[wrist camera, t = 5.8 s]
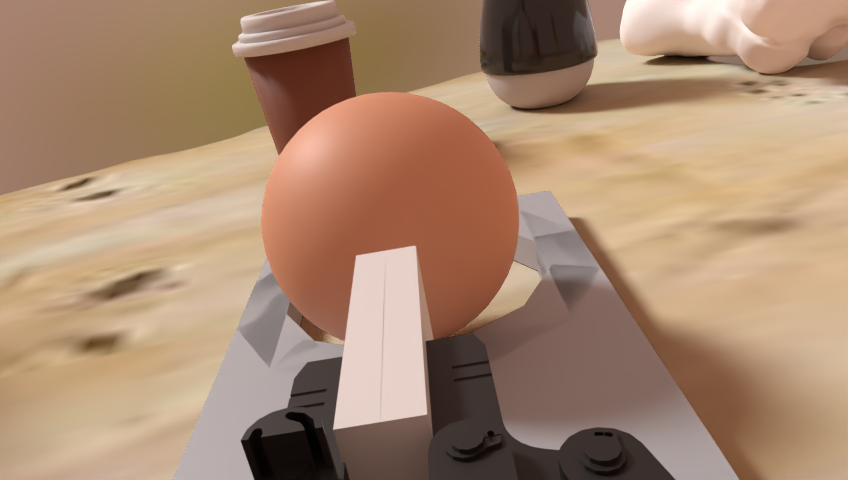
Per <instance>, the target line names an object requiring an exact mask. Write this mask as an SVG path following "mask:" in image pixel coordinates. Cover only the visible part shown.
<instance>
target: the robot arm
mask: <svg viewBox="0 0 848 480" xmlns="http://www.w3.org/2000/svg"><path fill="white" fill-rule="evenodd" d="M290 396H291V398H289V402H288V406H287V408H285V409H281V410H277V411H274V412H271V413H269V414H268V415H266V416H264V417H262V418H260V419H258V420H257V421H256V422H255V423H254V424H253V425H251V426H250V427H249V428H248V429H247V430H246V432H245V434H244V435H243V437H242V439H241V440H240V441H241V444H242V446H243V449H244V452H245V455H246V458H247V461H248V464H249V466H250V469H251V472H252V475H253V478H254V480H675V478H674V477H673V476H672V475H671V474H670V473H669V472H668V471H667V470H666V469H665V467H664V466H663V465H662V464H661V463H660V462H659V461H658V460H657V459H656V458H655V456H654V455H653V454H652V453H651V452H650V451H649V450H648V449H647V448H646V447H645V446H644V444H643V443H642V442H640V441H639V440H638V439H636V438H635V437H634V436H632V435H631V434H629V433H626V432H624V431H621V430H618V429H615V428H603V427H595V428H590V429H585V430H581V431H579V432H577V433H575V434H573V435H571V436H569V437H568V438H567V440H566V441H565V442H564V443H563V444H562V446H561V447H560V450H553V449H543V448H537V447H532V446H529V445H527V444H524V443H521V442H520V441H518V440H517V439H515V438H514V437H512V436H511V435H510V433H509V432H508V431H507V430H506V428H505V426H504V423H503V420H502V415H501V411H500V407H499V402H498V398H497V393H496V389H495V385H494V380H493V376H492V372H491V367H490V363H489V358H488V354H487V350H486V345H485V344H484V343H483V342H482V341H480V340H479V339H478V338H477V337H476V336H475V335H474V334H473V333H471V334H465V335H459V336H453V337H447V338H441V339H435V340H434V339H433V334H432V329H431V323H430V318H429V313H428V307H427V302H426V297H425V292H424V286H423V281H422V276H421V270H420V265H419V260H418V255H417V249H416V246H410V247H404V248H398V249H392V250H386V251H380V252H374V253H368V254H362V255H357V256H356V260H355V268H354V275H353V283H352V291H351V298H350V306H349V313H348V321H347V328H346V336H345V343H344V351H343V356H342V357H336V358H330V359H324V360H318V361H312V362H307V363H306V365H305V366H304V367H303V368H302V369H301V371H300V372H299V373H298V374H297V376H296V377H295V378H294V381H293V386H292V390H291V394H290Z"/></svg>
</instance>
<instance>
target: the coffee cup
mask: <svg viewBox="0 0 848 480" xmlns="http://www.w3.org/2000/svg"><path fill="white" fill-rule="evenodd" d="M240 22H241V26H242V30H243V33H242V34H240V35H239V41H238V42H237V43H235V44H234V45H233V46H232V49H233V52H234V56H236V57H244V58H245V61H246V64H247V67H248V70H249V73H250V76H251V78H252V81H253V84H254V87H255V89H256V92H257V95H258V98H259V101H260V104H261V106H262V109H263V112H264V115H265V118H266V121H267V123H268V126H269V129H270V132H271V135H272V138H273V140H274V143H275V146H276V149H277V152H278V154H279V155H280V154H281V152H282V151H283V149H284V148H285V146H286V145H287V144H288V142H289V141H290V140H291V139H292V138H293V136H294V135H295V134H296V133H297V132H298V131H299V130H300V129H301V128H302V127H303V126H304V125H305V124H306V123H307V122H308V121H310V120H311V119H312V118H314V117H315V116H317V115H318V114H319V113H321V112H322V111H324V110H326V109H328V108H329V107H331V106H333V105H335V104H337V103H340V102H342V101H345V100H347V99H350V98H354V97H356V92H355V84H354V77H353V69H352V61H351V53H350V45H349V36H352V35H354V34H356V29H355V24H354V22H353V21H348V20H347V21H346V20H345V16H344V15H342V14H338V10H337V5H336V2H335V1H333V0H329V1H321V2H314V3H308V4H301V5H297V6H291V7H285V8H280V9H275V10H270V11H266V12H261V13H257V14H253V15H249V16H245V17H243V18H242V19H241V20H240Z"/></svg>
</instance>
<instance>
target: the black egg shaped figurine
mask: <svg viewBox="0 0 848 480" xmlns="http://www.w3.org/2000/svg"><path fill="white" fill-rule="evenodd" d="M597 53H598V50H597V40H596V34H595V29H594V24H593V20H592V15H591V11H590V7H589V3H588V0H483V1H482V9H481V20H480V64H481V70H482V72H483V73H485V74H486V77H487V80H488V83H489V85H490V87H491V88H492V90H493V92H494V93H495V94H496V95H497V96H498V97H499V98H500V99H501V100H502V101H504V102H505V103H507V104H509V105H511V106H514V107H517V108H524V109H535V108H545V107H550V106H555V105H559V104H562V103H565V102H567V101H569V100H570V99H572V98H573V97H575V96H576V95H577V94H579V93H580V92H581V91H582V89H583V88H584V87H585V85H586V84H587V82H588V80H589V78H590V76H591V73H592V69H593V64H594V58H595V57H596V56H597Z"/></svg>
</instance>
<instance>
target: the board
mask: <svg viewBox="0 0 848 480" xmlns="http://www.w3.org/2000/svg"><path fill="white" fill-rule="evenodd" d="M517 200H518V205H519V233H518V244H517V248H516V252H515V256H514V260H515V261H517V262H519V263H521V264H524V265H526V266H528V267H530V268H533V269H535V270H537V271H538V272H539V274H540V276H541V279H542V280H541V281H540V283H539V284H538V286H537V287H536V289H535V290H534V292H533V293H532V295H531V296H530V298H529V299H528V301H527V302H526V304H525V305H524V306H522V307H521V308H519V309H517V310H515V311H513V312H511V313H509V314H507V315H505V316H503V317H501V318H499V319H497V320H495V321H493V322H491V323H489V324H487V325H485V326H483V327H481V328H479V329H477V330H475V331H473V332H471V333H473V334H474V335H475V336H476V337H477V338H478V339H479V340H480V341H482V342H483V343H484V344H485V345H486V350H487V354H488V358H489V363H490V367H491V372H492V376H493V380H494V385H495V389H496V393H497V398H498V402H499V407H500V411H501V415H502V420H503V423H504V426H505V428H506V430H507V431H508V432H509V433H510V435H511V436H512V437H514V438H515V439H517V440H518V441H520V442H521V443H524V444H527V445H529V446H532V447H537V448H543V449H553V450H560V447H561V446H562V444H563V443H564V442H565V441H566V440H567V438H568V437H569V436H571V435H573V434H575V433H577V432H579V431H581V430H585V429H590V428H595V427H603V428H615V429H618V430H621V431H624V432H626V433H629V434H631V435H632V436H634V437H635V438H636V439H638V440H639V441H640V442H642V443H643V444H644V446H645V447H646V448H647V449H648V450H649V451H650V452H651V453H652V454H653V455H654V456H655V458H656V459H657V460H658V461H659V462H660V463H661V464H662V465H663V466H664V467H665V469H666V470H667V471H668V472H669V473H670V474H671V475H672V476H673V477H674V478H675V480H739V478H738V476H737V475H736V473H735V472H734V470H733V469H732V467H731V466H730V464H729V463H728V461H727V460H726V458H725V457H724V455H723V454H722V452H721V451H720V449H719V447H718V446H717V444H716V443H715V441H714V440H713V438H712V437H711V435H710V434H709V432H708V431H707V429H706V428H705V426H704V425H703V423H702V422H701V420H700V418H699V417H698V415H697V414H696V412H695V411H694V409H693V408H692V406H691V405H690V403H689V402H688V400H687V399H686V397H685V396H684V394H683V393H682V391H681V389H680V388H679V386H678V385H677V383H676V382H675V380H674V379H673V377H672V376H671V374H670V373H669V371H668V370H667V368H666V367H665V365H664V364H663V362H662V360H661V359H660V357H659V356H658V354H657V353H656V351H655V350H654V348H653V347H652V345H651V344H650V342H649V341H648V339H647V338H646V336H645V335H644V333H643V331H642V330H641V328H640V327H639V325H638V324H637V322H636V321H635V319H634V318H633V316H632V315H631V313H630V312H629V310H628V309H627V307H626V306H625V304H624V302H623V301H622V299H621V298H620V296H619V295H618V293H617V292H616V290H615V289H614V287H613V286H612V284H611V283H610V281H609V280H608V278H607V277H606V275H605V273H604V272H603V270H602V269H601V267H600V266H599V264H598V263H597V261H596V260H595V258H594V257H593V255H592V254H591V252H590V251H589V249H588V248H587V246H586V244H585V243H584V241H583V240H582V238H581V237H580V235H579V234H578V232H577V231H576V229H575V228H574V226H573V225H572V223H571V222H570V220H569V219H568V217H567V215H566V214H565V212H564V211H563V209H562V208H561V206H560V205H559V203H558V202H557V200H556V199H555V197H554V196H553V194H552V193H551V191H544V192H538V193H532V194H527V195H521V196H517ZM302 316H303V315H302V314H301V313H300V312H299V311H298V310H297V308H296V307H295V306H294V305H293V304H292V303H291V302H290V301H289V299H288V298H287V297H286V295H285V294H284V292H283V291H282V290H281V288H280V286H279V284H278V283H277V281H276V279H275V277H274V275H273V273H272V270H271V267H270V264H269V262H268V259H267V258H266V261H265V263H264V265H263V268H262V270H261V272H260V275H259V277H258V279H257V282H256V284H255V287H254V289H253V291H252V294H251V296H250V298H249V301H248V303H247V305H246V308H245V310H244V312H243V315H242V317H241V320H240V322H239V324H238V327H237V329H236V331H235V334H234V336H233V338H232V341H231V343H230V345H229V348H228V350H227V353H226V355H225V357H224V360H223V362H222V364H221V367H220V369H219V371H218V374H217V376H216V378H215V381H214V383H213V386H212V388H211V390H210V393H209V395H208V397H207V400H206V402H205V404H204V407H203V409H202V412H201V414H200V416H199V419H198V421H197V423H196V426H195V428H194V430H193V433H192V435H191V437H190V440H189V442H188V445H187V447H186V449H185V452H184V454H183V456H182V459H181V461H180V463H179V466H178V468H177V470H176V473H175V475H174V478H173V480H254V478H253V475H252V472H251V469H250V466H249V464H248V461H247V458H246V455H245V452H244V449H243V446H242V444H241V441H240V440H241V439H242V437H243V435H244V434H245V432H246V430H247V429H248V428H249V427H250V426H251V425H253V424H254V423H255V422H256V421H257V420H258V419H260V418H262V417H264V416H266V415H268V414H269V413H271V412H274V411H277V410H281V409H285V408H287V406H288V402H289V398H291V396H290V394H291V390H292V386H293V381H294V378H295V377H296V376H297V374H298V373H299V372H300V371H301V369H302V368H303V367H304V366H305V365H306V363H307V362H312V361H318V360H324V359H330V358H336V357H342V356H343V351H344V345H338V344H332V343H326V342H319V341H314V340H313V339H312V338H311V337H310V336H309V335H308V334H307V333H306V332H305V331H304V330H303V329H302V328H301V327H300V324H301V320H302ZM471 333H469V334H471Z"/></svg>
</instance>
